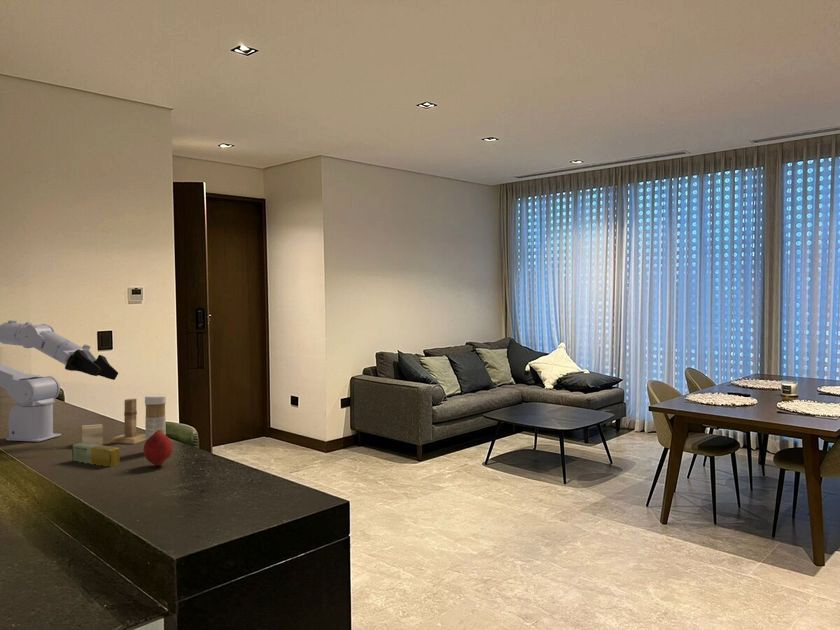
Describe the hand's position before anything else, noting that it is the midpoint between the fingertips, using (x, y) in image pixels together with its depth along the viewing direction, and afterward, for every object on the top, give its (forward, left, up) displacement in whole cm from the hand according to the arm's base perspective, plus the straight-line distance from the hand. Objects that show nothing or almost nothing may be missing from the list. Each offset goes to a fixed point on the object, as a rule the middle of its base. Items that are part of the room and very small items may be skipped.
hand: (107, 374), depth 158 cm
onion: (+25, -19, -17) cm, 36 cm away
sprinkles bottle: (+17, -7, -17) cm, 25 cm away
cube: (-3, -2, -17) cm, 18 cm away
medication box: (+10, -19, -18) cm, 28 cm away
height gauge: (+4, +3, -17) cm, 18 cm away
